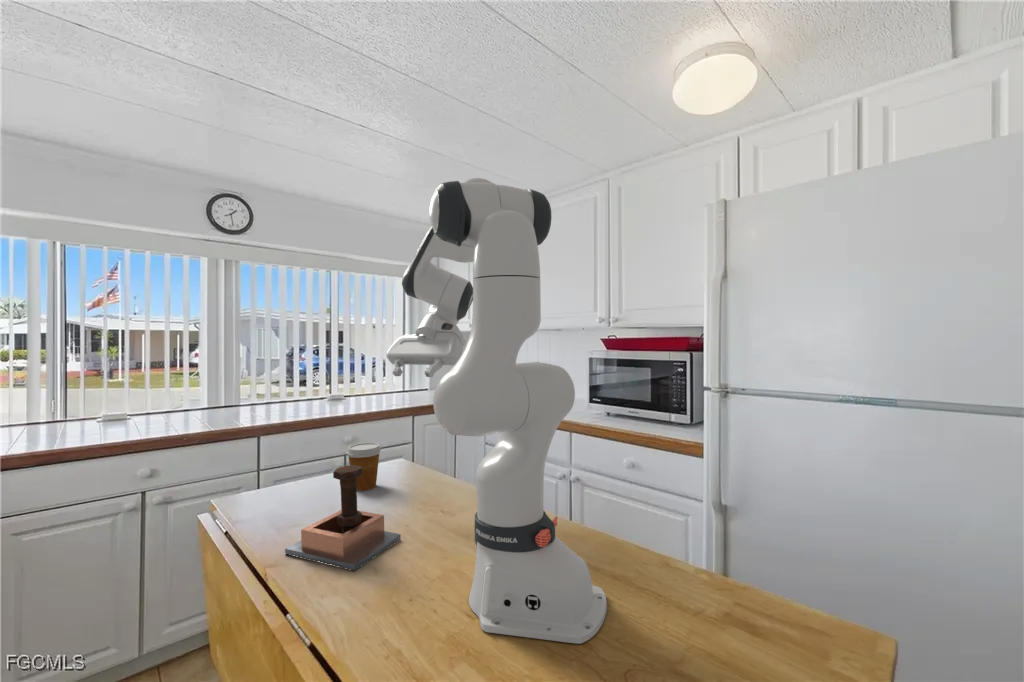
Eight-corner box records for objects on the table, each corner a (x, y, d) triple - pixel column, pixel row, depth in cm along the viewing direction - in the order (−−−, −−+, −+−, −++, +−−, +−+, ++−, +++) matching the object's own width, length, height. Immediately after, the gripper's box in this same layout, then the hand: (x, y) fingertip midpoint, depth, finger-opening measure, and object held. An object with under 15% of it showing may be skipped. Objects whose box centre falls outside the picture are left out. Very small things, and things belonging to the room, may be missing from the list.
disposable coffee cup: (349, 495, 126) (347, 452, 126) (346, 485, 135) (345, 444, 135) (384, 489, 130) (383, 447, 130) (379, 480, 139) (378, 441, 139)
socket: (400, 539, 98) (400, 515, 98) (354, 571, 85) (353, 543, 85) (336, 526, 105) (336, 504, 105) (285, 554, 92) (284, 529, 92)
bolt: (355, 546, 93) (352, 473, 92) (331, 545, 93) (329, 472, 93) (368, 533, 98) (365, 464, 98) (346, 533, 99) (343, 464, 99)
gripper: (395, 326, 122) (371, 366, 113) (462, 325, 113) (441, 367, 105) (406, 343, 126) (383, 382, 117) (471, 342, 118) (452, 384, 109)
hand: (411, 375), depth 111 cm, fingers open, 8 cm apart
